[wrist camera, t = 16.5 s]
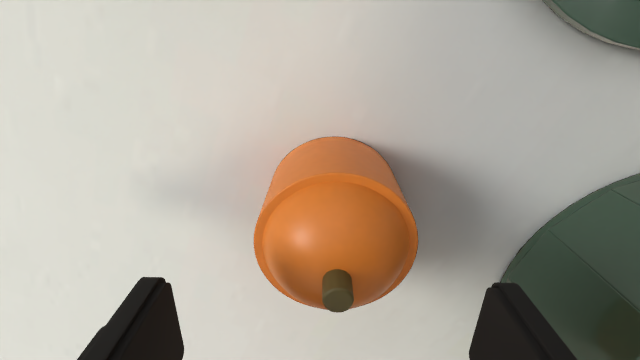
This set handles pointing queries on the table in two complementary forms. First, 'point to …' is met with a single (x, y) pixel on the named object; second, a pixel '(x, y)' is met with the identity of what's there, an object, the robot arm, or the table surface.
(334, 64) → the table surface
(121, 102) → the table surface
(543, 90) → the table surface
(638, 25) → the crock lid
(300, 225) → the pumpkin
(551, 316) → the crock
